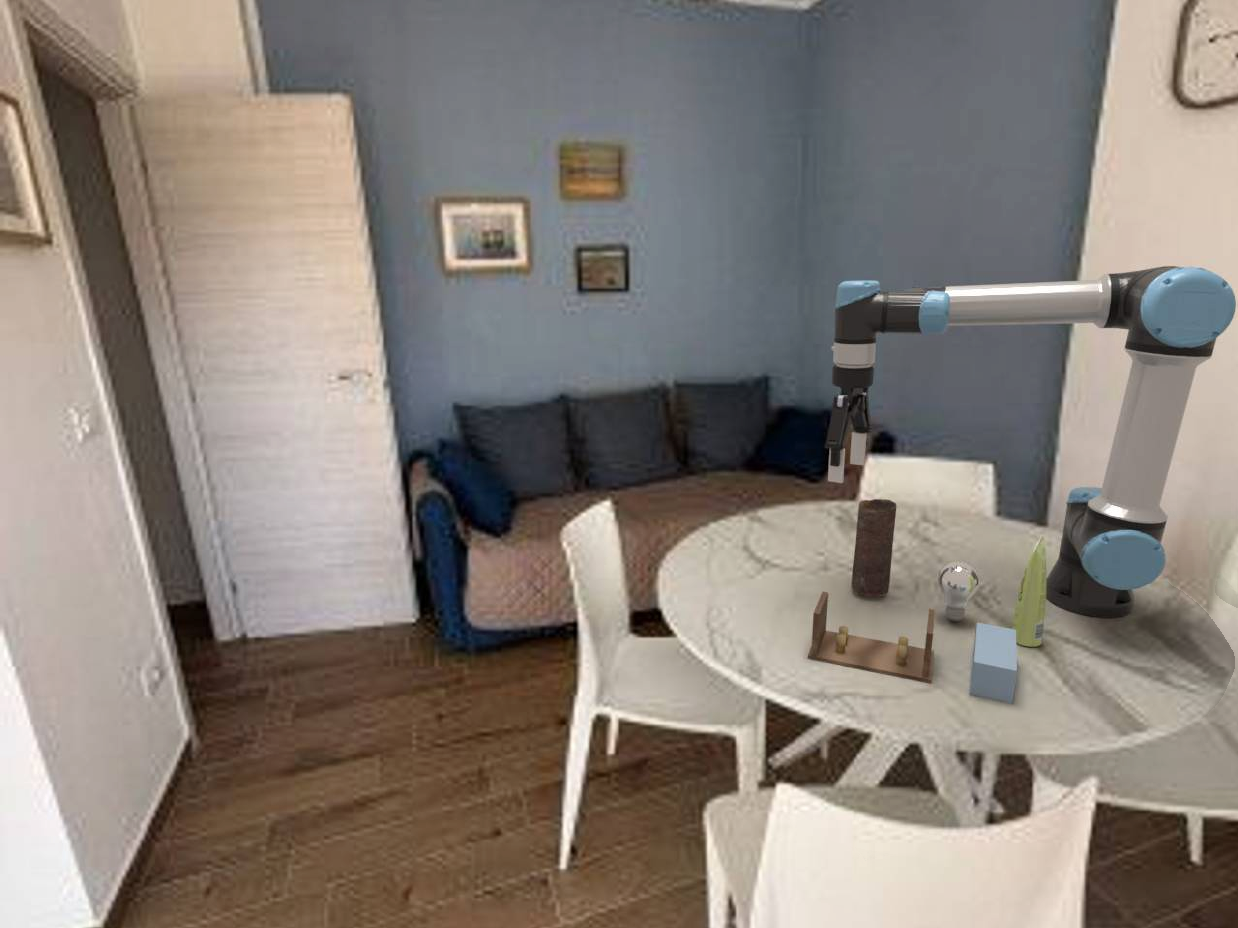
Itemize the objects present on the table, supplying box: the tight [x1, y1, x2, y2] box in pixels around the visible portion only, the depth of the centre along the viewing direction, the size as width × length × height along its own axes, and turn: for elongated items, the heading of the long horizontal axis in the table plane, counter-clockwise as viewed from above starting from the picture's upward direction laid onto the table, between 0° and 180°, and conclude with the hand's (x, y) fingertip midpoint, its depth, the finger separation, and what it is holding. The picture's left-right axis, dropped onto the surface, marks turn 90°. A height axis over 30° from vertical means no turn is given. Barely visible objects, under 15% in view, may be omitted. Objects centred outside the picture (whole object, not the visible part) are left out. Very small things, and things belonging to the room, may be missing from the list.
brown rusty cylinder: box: [850, 498, 897, 598], centre depth 148 cm, size 8×7×20 cm
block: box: [969, 622, 1018, 704], centre depth 121 cm, size 6×14×6 cm, turn 153°
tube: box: [1011, 533, 1047, 648], centre depth 130 cm, size 6×5×20 cm
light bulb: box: [937, 560, 980, 623], centre depth 138 cm, size 7×7×12 cm
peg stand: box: [807, 591, 936, 684], centre depth 127 cm, size 20×10×9 cm, turn 65°
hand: (846, 472), depth 144 cm, fingers open, 13 cm apart
